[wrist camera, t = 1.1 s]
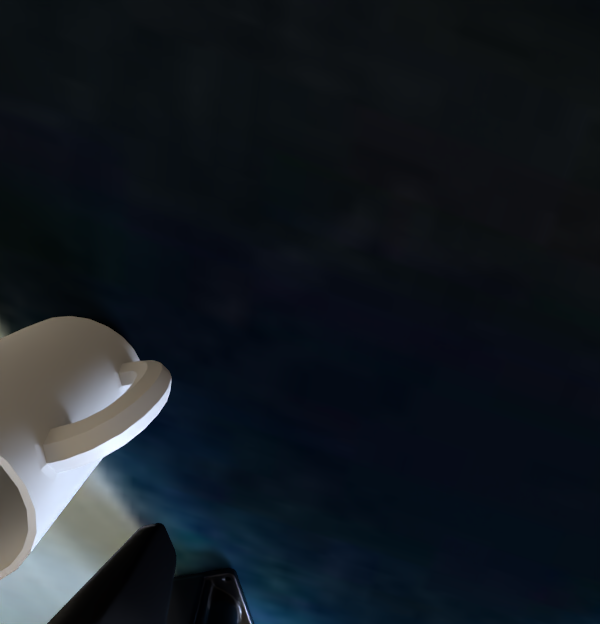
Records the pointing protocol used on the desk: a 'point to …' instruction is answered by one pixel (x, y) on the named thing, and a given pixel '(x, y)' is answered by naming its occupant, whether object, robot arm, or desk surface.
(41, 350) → the cup
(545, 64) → the desk surface
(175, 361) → the desk surface
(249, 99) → the desk surface
